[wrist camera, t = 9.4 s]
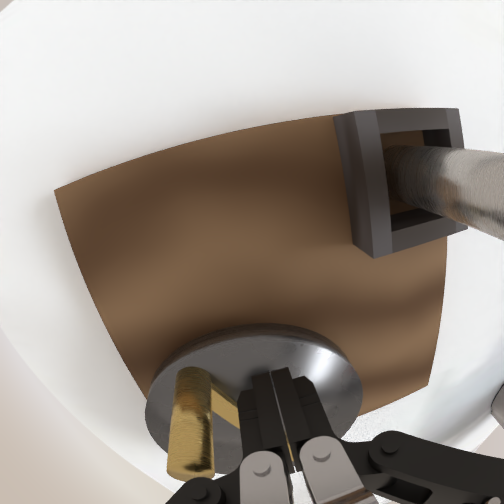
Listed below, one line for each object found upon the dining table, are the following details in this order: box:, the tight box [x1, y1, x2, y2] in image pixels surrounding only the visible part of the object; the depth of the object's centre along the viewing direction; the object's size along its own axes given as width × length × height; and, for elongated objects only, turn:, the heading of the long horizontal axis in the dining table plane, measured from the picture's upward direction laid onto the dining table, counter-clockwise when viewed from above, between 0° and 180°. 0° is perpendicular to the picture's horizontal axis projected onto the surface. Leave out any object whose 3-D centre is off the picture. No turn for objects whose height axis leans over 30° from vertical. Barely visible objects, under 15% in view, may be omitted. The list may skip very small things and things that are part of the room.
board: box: [54, 108, 468, 417], centre depth 15 cm, size 20×20×3 cm
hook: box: [383, 145, 504, 241], centre depth 8 cm, size 5×3×11 cm, turn 13°
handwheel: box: [145, 323, 363, 482], centre depth 12 cm, size 12×12×6 cm
